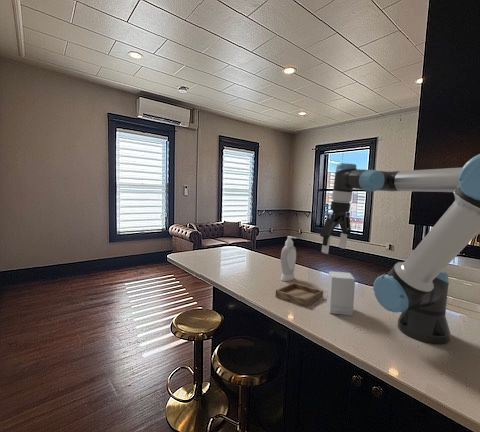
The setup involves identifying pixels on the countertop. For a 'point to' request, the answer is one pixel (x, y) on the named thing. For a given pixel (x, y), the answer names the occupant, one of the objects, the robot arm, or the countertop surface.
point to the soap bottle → (288, 260)
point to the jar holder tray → (299, 294)
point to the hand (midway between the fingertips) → (333, 250)
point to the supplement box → (340, 293)
